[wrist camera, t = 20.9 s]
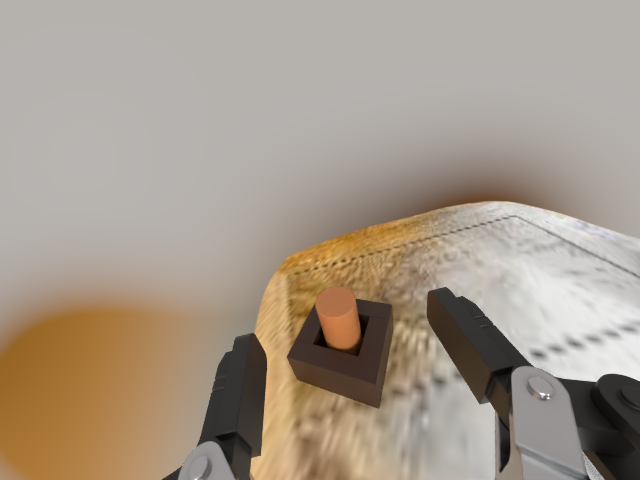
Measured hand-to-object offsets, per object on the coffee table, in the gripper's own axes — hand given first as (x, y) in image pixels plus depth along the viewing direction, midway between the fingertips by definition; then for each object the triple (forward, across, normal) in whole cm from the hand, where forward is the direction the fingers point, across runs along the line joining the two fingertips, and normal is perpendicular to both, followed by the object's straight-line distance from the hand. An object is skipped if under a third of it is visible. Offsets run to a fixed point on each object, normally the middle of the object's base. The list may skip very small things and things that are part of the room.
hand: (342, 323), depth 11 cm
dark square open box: (+11, 0, +20) cm, 23 cm away
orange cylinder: (+11, 0, +20) cm, 23 cm away
